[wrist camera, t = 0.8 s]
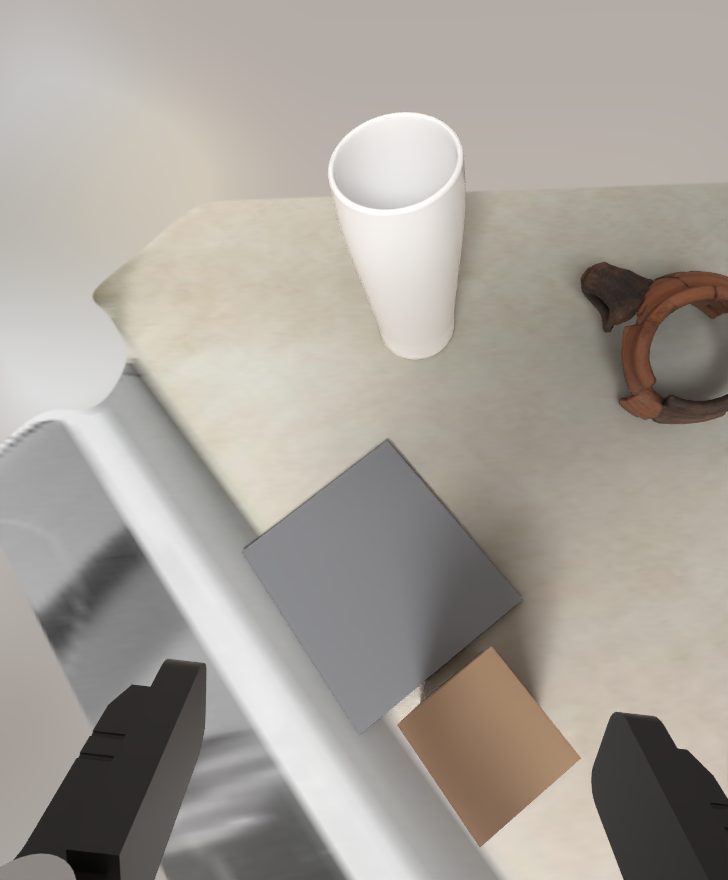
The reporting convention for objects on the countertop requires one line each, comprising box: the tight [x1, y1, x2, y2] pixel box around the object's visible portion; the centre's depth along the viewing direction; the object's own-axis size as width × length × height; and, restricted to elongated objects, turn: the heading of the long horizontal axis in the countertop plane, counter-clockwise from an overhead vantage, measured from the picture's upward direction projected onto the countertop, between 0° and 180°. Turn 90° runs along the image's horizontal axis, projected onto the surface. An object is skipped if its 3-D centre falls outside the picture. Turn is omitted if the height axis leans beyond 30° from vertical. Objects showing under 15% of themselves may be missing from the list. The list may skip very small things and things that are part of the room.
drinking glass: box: [328, 112, 465, 360], centre depth 33 cm, size 7×7×15 cm
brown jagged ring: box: [581, 262, 728, 424], centre depth 34 cm, size 12×9×8 cm
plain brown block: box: [398, 646, 581, 847], centre depth 25 cm, size 4×4×12 cm
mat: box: [242, 441, 523, 735], centre depth 34 cm, size 12×13×1 cm
